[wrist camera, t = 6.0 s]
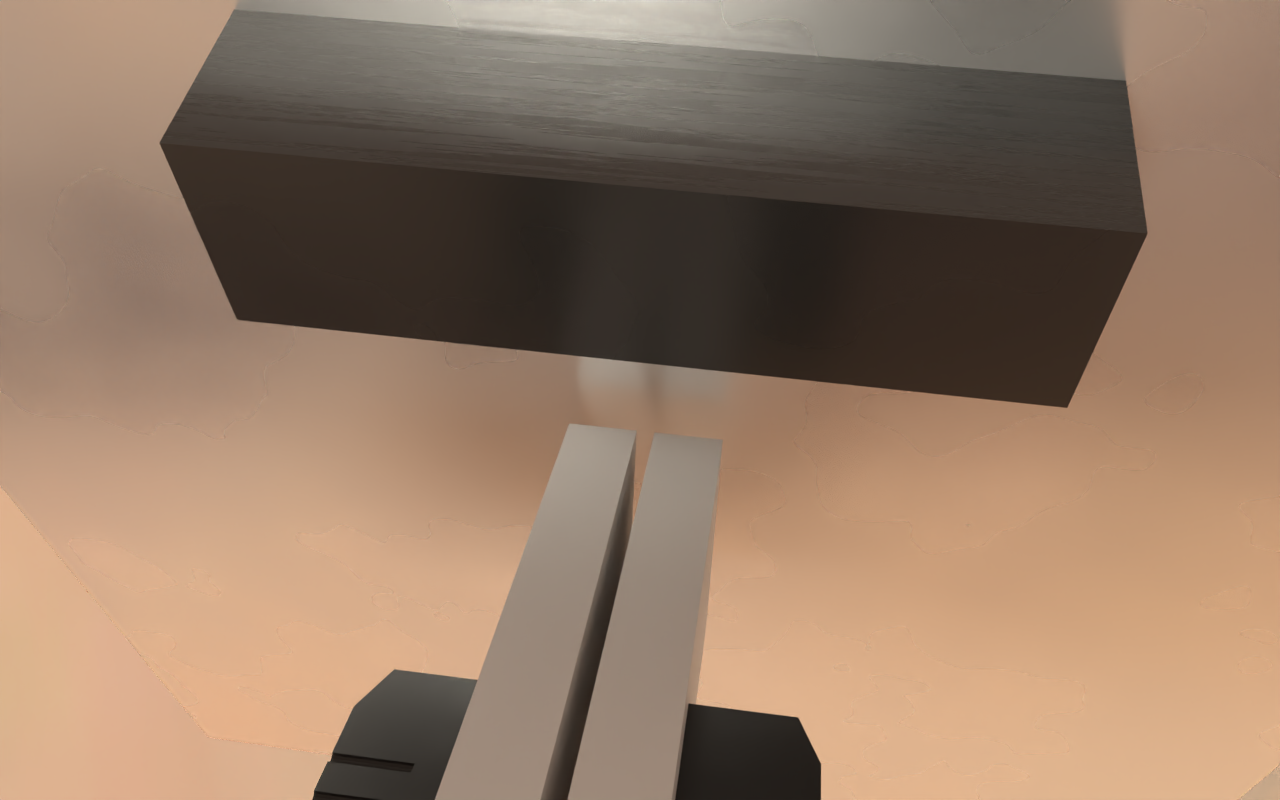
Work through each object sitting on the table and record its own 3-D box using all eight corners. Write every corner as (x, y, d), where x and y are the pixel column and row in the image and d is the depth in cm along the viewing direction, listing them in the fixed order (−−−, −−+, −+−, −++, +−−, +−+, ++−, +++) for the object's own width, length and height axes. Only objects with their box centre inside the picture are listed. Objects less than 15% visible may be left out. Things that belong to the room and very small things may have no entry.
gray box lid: (1126, 829, 25) (1139, 975, 23) (244, 706, 27) (199, 834, 25) (2017, -50, 9) (2272, 233, 7) (-412, -208, 10) (-665, -13, 9)
